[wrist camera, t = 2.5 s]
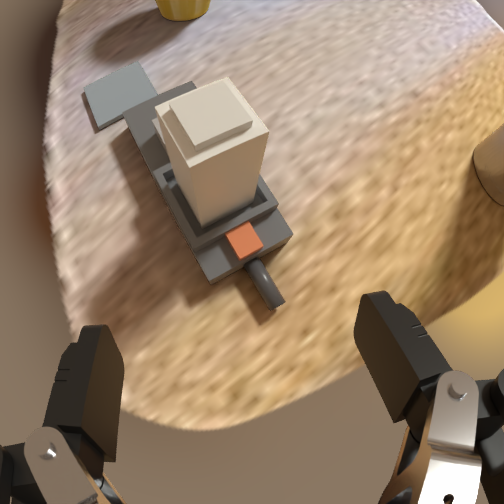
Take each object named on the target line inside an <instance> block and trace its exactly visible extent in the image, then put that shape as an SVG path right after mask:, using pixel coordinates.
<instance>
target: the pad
mask: <svg viewBox="0 0 504 504" xmlns="http://www.w3.org/2000/svg"><path fill="white" fill-rule="evenodd" d="M84 91H85V94H86V96H87V99H88V102H89V105H90V107H91V110H92V113H93V115H94V118H95V120H96V123H97V125H98V128H99V129H100V130H101V129H102V128H104V127H106V126H108V125H110V124H112V123H114V122H115V121H117V120H119V119H121V118H123V117H124V116H123V114H122V112H124V111H126V110H128V109H130V108H132V107H134V106H136V105H138V104H140V103H142V102H144V101H146V100H149V99H151V98H153V97H155V96H157V95H158V94H157V92H156V90H155V89H154V87H153V85H152V83H151V82H150V80H149V78H148V77H147V75H146V73H145V72H144V70H143V68H142V67H141V65H140V63H139V62H138V61H137V62H135V63H132V64H130V65H128V66H126V67H124V68H121V69H119V70H117V71H115V72H113V73H111V74H109V75H107V76H105V77H103V78H101V79H99V80H97V81H95V82H93V83H91V84H89V85H88V86H86V87H84Z"/></svg>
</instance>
